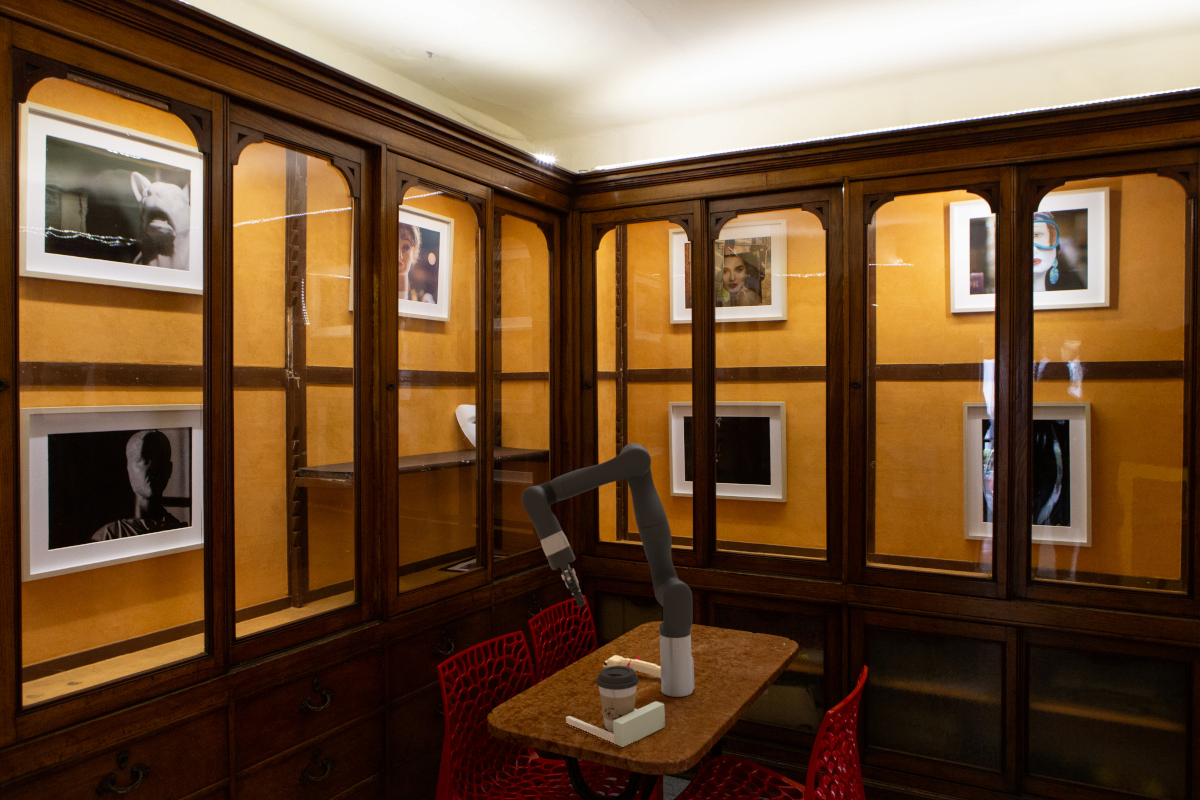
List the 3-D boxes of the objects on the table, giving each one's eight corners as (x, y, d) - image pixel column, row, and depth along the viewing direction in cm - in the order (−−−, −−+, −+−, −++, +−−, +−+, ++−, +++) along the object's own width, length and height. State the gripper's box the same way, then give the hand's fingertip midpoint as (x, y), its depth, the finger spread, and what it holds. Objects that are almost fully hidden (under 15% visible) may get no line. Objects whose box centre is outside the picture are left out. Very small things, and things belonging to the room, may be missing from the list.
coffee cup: (591, 735, 197) (590, 677, 197) (605, 717, 208) (603, 662, 208) (634, 739, 193) (632, 681, 193) (645, 721, 204) (643, 666, 204)
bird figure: (681, 681, 236) (611, 663, 249) (683, 653, 236) (612, 637, 248) (668, 692, 228) (596, 673, 240) (670, 663, 227) (597, 646, 240)
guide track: (608, 705, 215) (608, 684, 216) (665, 726, 201) (664, 704, 201) (566, 724, 204) (565, 702, 204) (622, 748, 189) (621, 724, 189)
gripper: (568, 545, 213) (594, 602, 211) (570, 543, 226) (594, 597, 224) (544, 556, 213) (569, 614, 210) (547, 554, 226) (571, 608, 223)
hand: (582, 605), depth 217 cm, fingers closed
